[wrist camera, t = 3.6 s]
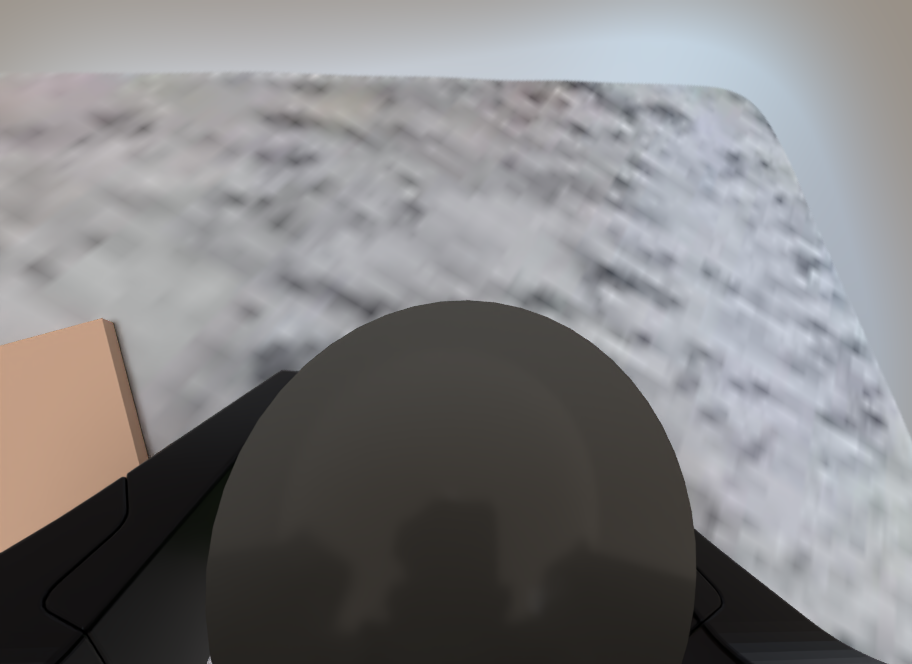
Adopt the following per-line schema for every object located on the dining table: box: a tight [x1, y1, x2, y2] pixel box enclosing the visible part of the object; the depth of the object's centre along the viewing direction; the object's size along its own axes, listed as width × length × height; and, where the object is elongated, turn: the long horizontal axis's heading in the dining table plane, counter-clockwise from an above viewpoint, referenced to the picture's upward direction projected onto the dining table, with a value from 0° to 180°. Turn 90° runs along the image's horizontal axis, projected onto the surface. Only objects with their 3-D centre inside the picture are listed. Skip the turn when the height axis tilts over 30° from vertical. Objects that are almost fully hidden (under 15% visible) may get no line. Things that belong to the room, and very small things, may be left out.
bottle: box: [205, 300, 696, 664], centre depth 9 cm, size 6×6×13 cm
